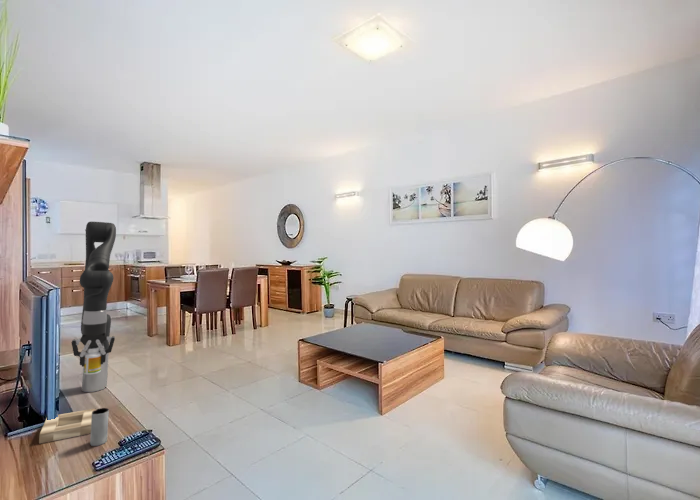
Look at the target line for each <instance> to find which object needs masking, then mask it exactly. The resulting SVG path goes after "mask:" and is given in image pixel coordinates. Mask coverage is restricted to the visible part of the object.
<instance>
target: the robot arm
mask: <svg viewBox="0 0 700 500" xmlns="http://www.w3.org/2000/svg"><path fill="white" fill-rule="evenodd" d="M116 227H117V226H116V225H115V224H114V223H112V222H103V221H88V222H87V223H86V225H85V265H84V270H83V271H82V273H81V275H80V276H79V277H80V278H79V285H80V286H81V288H83V305H82V313H81V314H82V315H81V322H80V333H81V337H80V338H78V339H72V341H71V347H72V353H73V356H74V357H79V365H80V366H81V367H82V376H81V380H82V381H81V391H82V392H85V393H93V392H99V391H102V390H105V389H106V388H107V386H108V370H109V356H110V355H109V354H110V353H111V352H112V350H113V346H114V343H115V339H116V338H115V336H114V335H113V336H110V335H111V327H112V318H111V315H110V314H108V313H107V307H108V306H107V304H108V303H107V302H108V295H109V293H110V290H111V287H112V284H113V283H114V275H113V273H112V272H111V271H110V270H109V269H110V262H111V261H110V259H111V255H112V252H113V248H114V245H115V241H116V237H117V228H116ZM95 243H101V244H100V245H99V246H97V247H96V246H95ZM80 343H81V344H82V345H83V348H82V350H81V351H79V348H78V345H80ZM98 347H99V349H100V351H99V352H101V354H102V355H101V371H100V372H99V373H96V374H89V375H87V374H84V358H85V354H87V353H88V352H87V349H89V348H98ZM104 386H105V387H106V388H105V387H104Z"/></svg>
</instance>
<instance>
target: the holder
mask: <svg viewBox="0 0 700 500" xmlns="http://www.w3.org/2000/svg"><path fill="white" fill-rule="evenodd" d="M96 409H97V408H90V409H85V410H78V411H73V412H68V413H67V412H66V413H60V414H57V415H58V417H56V418H55V419H51V420H47V418H45V421H44V423H43V426H42V427H41V430H40V432H39V437H38V438H39V440H38V443H39V444H44V443H49V442H54V441H59V440H65V439H68V438H74V437H80V436H84V435H89V434H90V435H91V419H92V412H93V411H94V410H96Z"/></svg>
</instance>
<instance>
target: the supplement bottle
mask: <svg viewBox="0 0 700 500" xmlns="http://www.w3.org/2000/svg"><path fill="white" fill-rule="evenodd" d="M99 351H100V349H99V347H98V348H89V349H87V352H88V353H87V354H85V358H84V374H87V375H89V374H96V373H99V372H100V371H101V355H102V354H101V352H99Z"/></svg>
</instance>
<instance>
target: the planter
mask: <svg viewBox="0 0 700 500" xmlns="http://www.w3.org/2000/svg"><path fill="white" fill-rule="evenodd" d="M109 411H110V410H109V408H106V407H101V408H96V410H94V411H93V412H92V419H91V433H90V442H89V445H91V446H92V447H98V446H102V445H104V444H105V443H107V442H108V431H109V429H108V428H109Z"/></svg>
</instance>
